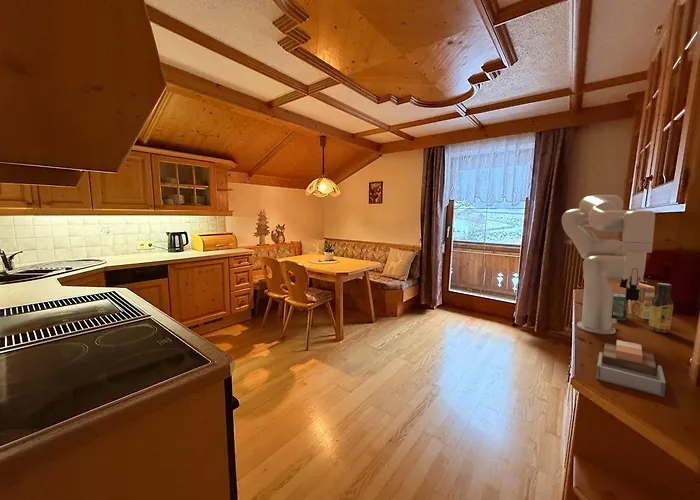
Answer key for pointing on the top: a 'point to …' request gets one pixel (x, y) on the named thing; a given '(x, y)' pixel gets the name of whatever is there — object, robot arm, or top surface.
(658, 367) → the tray
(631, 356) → the terracotta tile
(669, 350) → the top surface
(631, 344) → the cream tile
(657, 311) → the sauce bottle
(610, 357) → the walnut board
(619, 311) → the canned tomato
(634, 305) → the candy box
